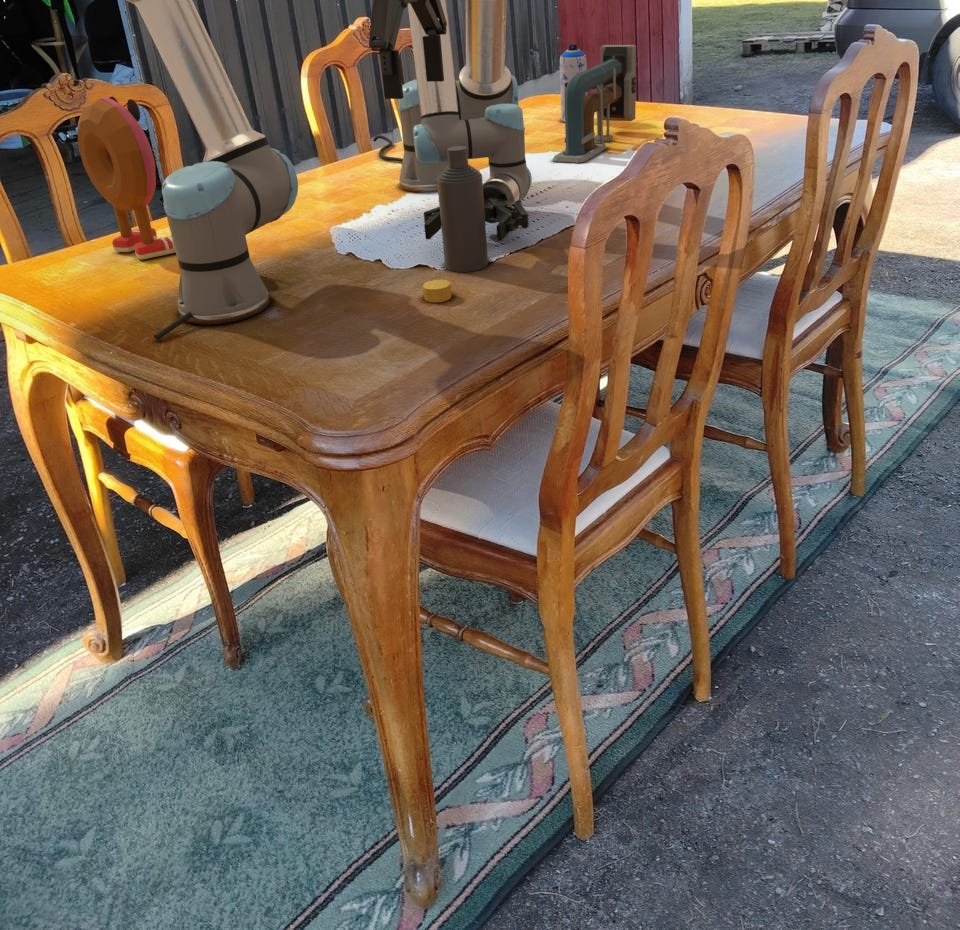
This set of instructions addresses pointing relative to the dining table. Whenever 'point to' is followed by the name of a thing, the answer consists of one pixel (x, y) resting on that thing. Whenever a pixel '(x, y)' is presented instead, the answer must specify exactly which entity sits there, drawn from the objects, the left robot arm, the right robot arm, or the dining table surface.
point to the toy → (122, 171)
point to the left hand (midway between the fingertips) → (415, 89)
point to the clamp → (599, 102)
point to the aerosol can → (570, 70)
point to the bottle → (462, 213)
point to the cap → (437, 291)
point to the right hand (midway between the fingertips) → (462, 232)
